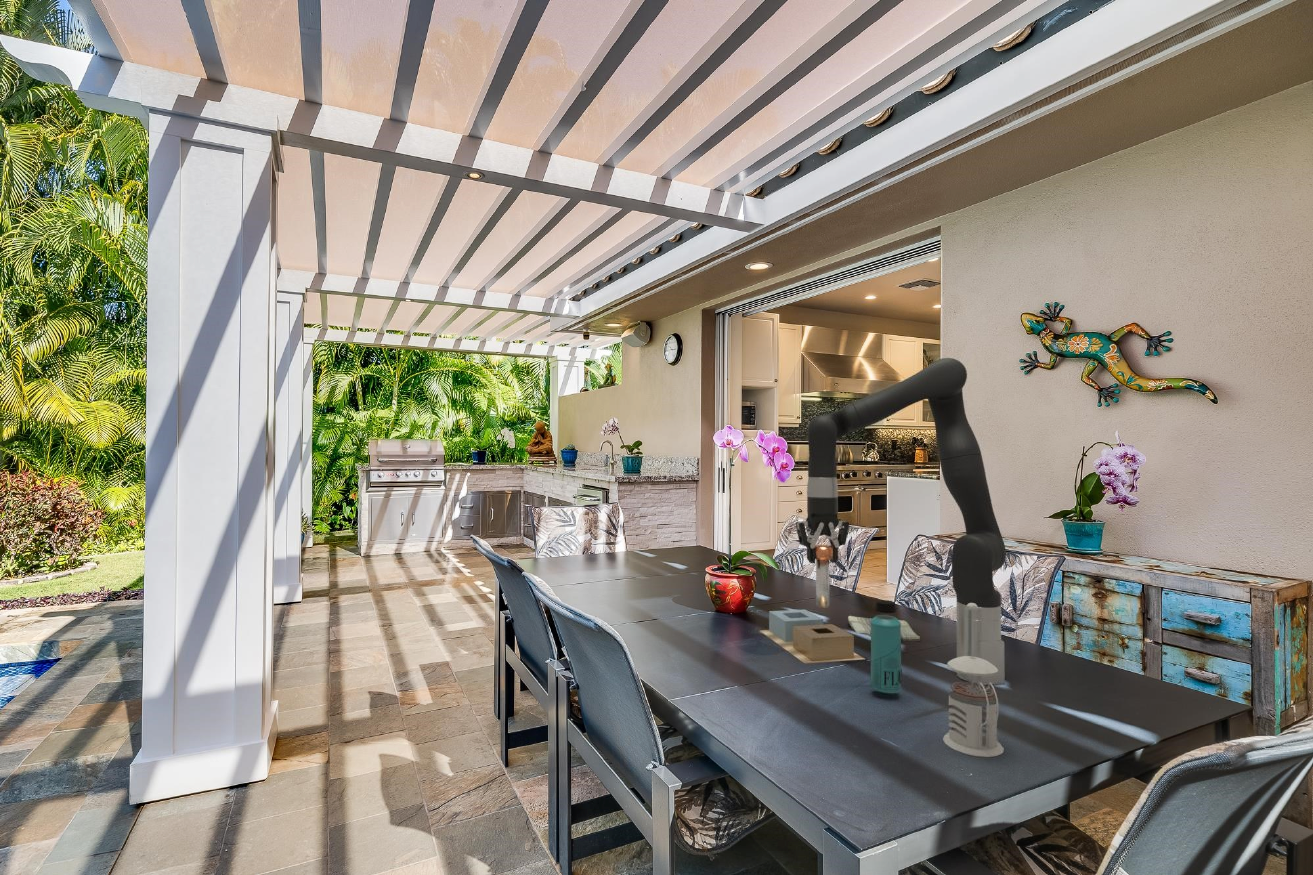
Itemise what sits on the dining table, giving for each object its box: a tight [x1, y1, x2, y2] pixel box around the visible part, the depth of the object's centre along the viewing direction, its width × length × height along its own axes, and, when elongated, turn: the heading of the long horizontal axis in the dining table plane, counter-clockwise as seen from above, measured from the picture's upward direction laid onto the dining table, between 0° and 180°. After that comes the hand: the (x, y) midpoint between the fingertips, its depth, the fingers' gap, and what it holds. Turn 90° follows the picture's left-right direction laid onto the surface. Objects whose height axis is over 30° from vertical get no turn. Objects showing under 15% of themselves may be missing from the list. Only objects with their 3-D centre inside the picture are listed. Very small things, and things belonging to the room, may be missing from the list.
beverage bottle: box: [869, 599, 903, 694], centre depth 138 cm, size 6×7×20 cm
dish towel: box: [847, 615, 921, 642], centre depth 188 cm, size 19×18×3 cm
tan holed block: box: [793, 623, 855, 661], centre depth 162 cm, size 11×11×6 cm
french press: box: [942, 603, 1005, 758], centre depth 115 cm, size 10×12×25 cm
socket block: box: [768, 609, 824, 642], centre depth 178 cm, size 11×11×6 cm
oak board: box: [759, 629, 865, 664], centre depth 170 cm, size 29×16×2 cm, turn 12°
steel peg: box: [814, 544, 833, 609], centre depth 163 cm, size 5×5×15 cm
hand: (822, 562), depth 163 cm, fingers closed on steel peg, 5 cm apart
